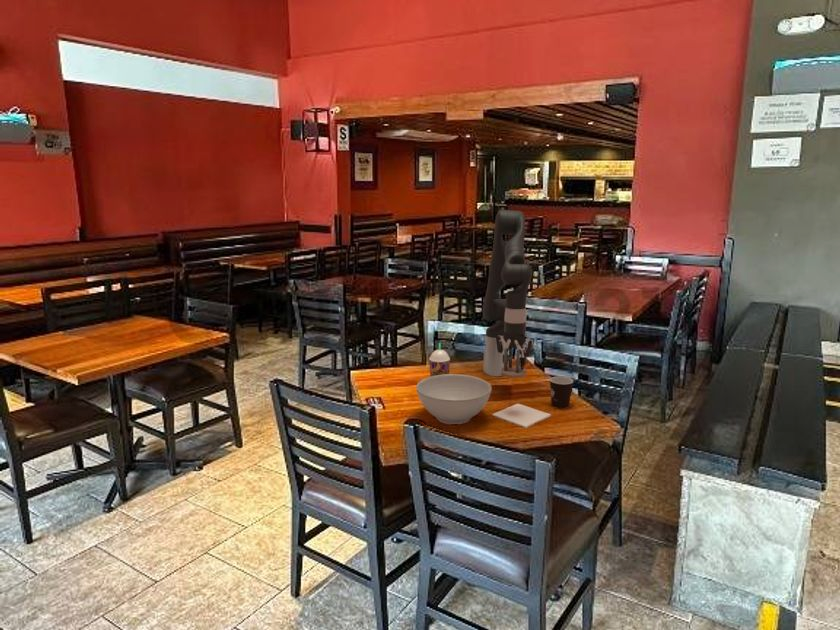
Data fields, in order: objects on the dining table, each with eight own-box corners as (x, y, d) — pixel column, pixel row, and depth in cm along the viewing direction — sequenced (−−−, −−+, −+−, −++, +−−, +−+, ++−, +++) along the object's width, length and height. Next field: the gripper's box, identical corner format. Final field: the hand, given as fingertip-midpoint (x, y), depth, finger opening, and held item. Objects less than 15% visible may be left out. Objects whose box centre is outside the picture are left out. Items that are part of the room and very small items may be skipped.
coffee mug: (572, 410, 221) (573, 384, 219) (548, 408, 223) (549, 383, 221) (571, 399, 232) (572, 374, 230) (548, 397, 234) (549, 373, 232)
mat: (492, 415, 217) (492, 414, 217) (517, 404, 227) (517, 403, 227) (525, 428, 206) (525, 426, 206) (551, 416, 216) (551, 414, 216)
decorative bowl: (472, 400, 232) (473, 370, 229) (503, 427, 207) (504, 394, 204) (407, 409, 223) (406, 378, 221) (431, 438, 199) (431, 404, 196)
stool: (506, 368, 222) (507, 344, 220) (530, 372, 217) (530, 347, 215) (497, 375, 214) (497, 349, 212) (521, 379, 210) (521, 353, 208)
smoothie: (439, 395, 236) (439, 347, 232) (425, 390, 242) (424, 343, 238) (454, 390, 242) (454, 343, 237) (440, 385, 248) (440, 339, 243)
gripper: (538, 320, 211) (536, 365, 215) (500, 316, 218) (499, 360, 222) (530, 324, 205) (529, 371, 208) (492, 320, 212) (491, 365, 215)
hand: (514, 365), depth 215 cm, fingers closed on stool, 5 cm apart
